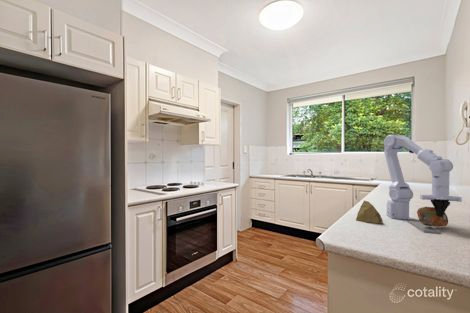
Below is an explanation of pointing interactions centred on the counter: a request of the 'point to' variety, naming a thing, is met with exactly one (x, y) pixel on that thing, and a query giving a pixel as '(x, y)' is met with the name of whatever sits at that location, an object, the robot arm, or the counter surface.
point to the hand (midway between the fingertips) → (439, 216)
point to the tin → (431, 217)
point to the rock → (368, 213)
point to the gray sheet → (424, 227)
